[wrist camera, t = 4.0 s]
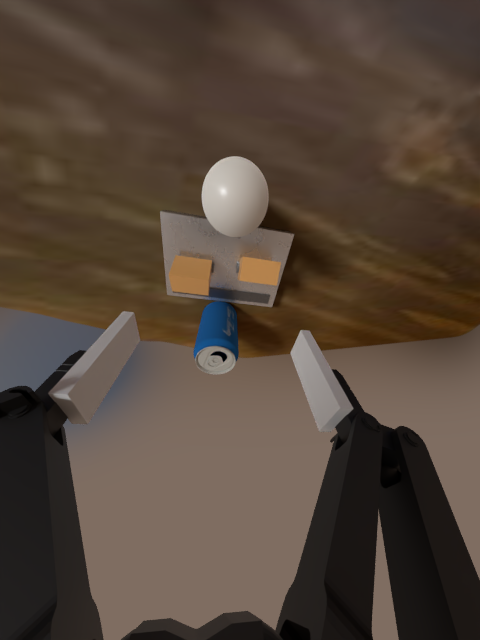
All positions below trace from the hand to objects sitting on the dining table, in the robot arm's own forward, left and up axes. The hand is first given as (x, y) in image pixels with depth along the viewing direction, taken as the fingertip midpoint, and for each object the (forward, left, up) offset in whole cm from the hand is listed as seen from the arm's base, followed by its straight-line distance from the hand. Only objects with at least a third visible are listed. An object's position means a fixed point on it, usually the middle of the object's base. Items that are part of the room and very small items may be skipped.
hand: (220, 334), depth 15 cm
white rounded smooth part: (-9, 0, -18) cm, 20 cm away
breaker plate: (0, 0, -18) cm, 18 cm away
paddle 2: (0, +4, -16) cm, 16 cm away
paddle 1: (0, -5, -16) cm, 16 cm away
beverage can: (+10, 0, -18) cm, 20 cm away
